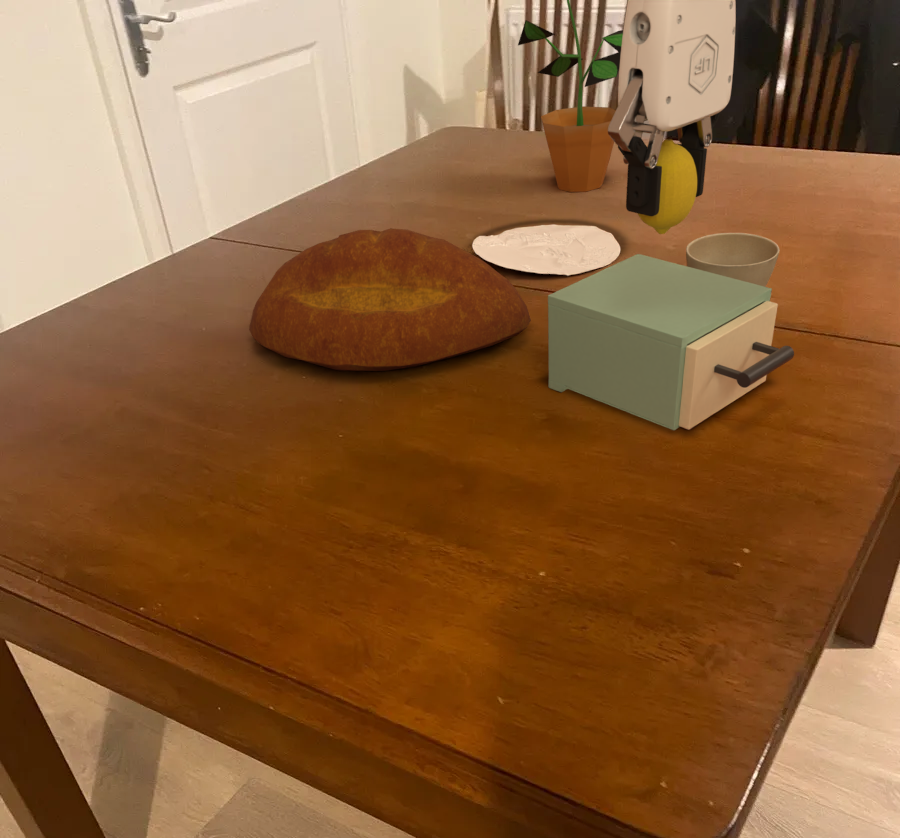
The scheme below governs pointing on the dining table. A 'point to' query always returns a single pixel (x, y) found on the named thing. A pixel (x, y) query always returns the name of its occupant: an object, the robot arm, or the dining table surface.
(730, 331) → the drawer
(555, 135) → the potted plant
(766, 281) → the flower pot
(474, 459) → the dining table surface
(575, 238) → the plaque
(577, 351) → the cabinet
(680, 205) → the lemon
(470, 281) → the bread
